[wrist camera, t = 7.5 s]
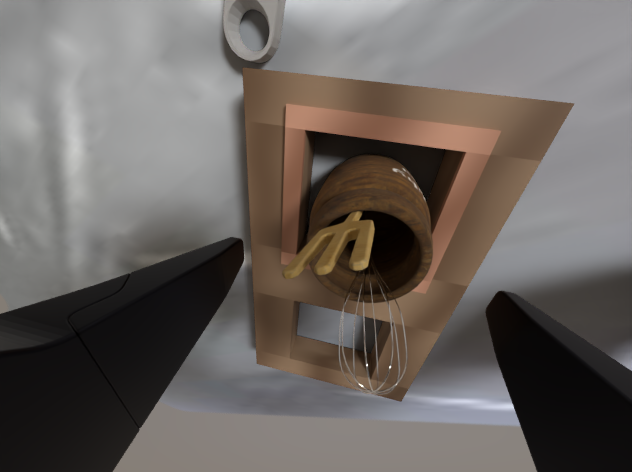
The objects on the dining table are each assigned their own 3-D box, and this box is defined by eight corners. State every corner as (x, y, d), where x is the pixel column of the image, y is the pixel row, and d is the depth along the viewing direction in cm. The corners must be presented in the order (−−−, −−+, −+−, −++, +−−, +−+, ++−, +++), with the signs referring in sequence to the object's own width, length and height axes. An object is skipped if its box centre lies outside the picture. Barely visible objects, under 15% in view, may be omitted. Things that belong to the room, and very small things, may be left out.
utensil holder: (336, 243, 18) (289, 439, 7) (310, 160, 15) (183, 287, 5) (420, 229, 16) (513, 464, 6) (408, 131, 13) (543, 239, 3)
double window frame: (536, 103, 11) (580, 103, 9) (398, 374, 24) (401, 405, 21) (263, 72, 13) (239, 66, 11) (266, 341, 25) (255, 366, 23)
